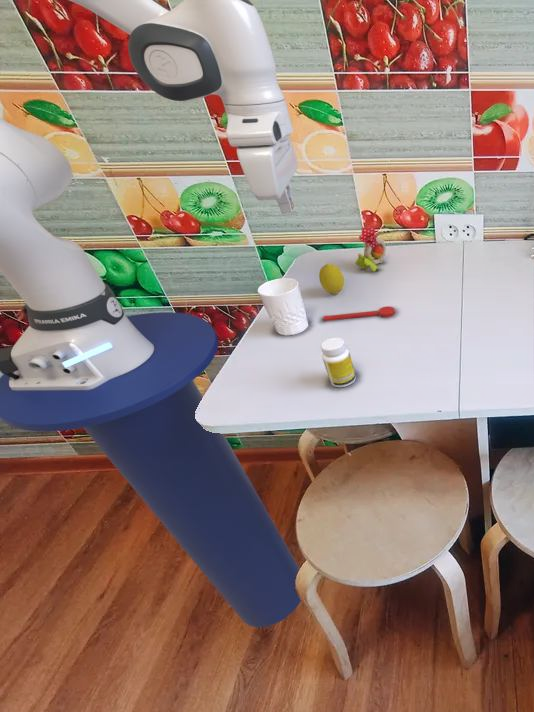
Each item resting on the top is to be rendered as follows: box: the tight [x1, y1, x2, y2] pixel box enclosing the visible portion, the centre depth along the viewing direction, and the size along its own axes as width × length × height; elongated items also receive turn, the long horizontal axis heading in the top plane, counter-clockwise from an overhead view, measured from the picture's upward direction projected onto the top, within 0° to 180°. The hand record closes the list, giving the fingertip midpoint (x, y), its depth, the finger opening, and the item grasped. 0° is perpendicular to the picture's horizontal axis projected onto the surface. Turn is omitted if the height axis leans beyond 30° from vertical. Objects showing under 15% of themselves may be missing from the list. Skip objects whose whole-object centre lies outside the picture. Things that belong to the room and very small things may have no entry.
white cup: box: [257, 277, 309, 336], centre depth 100 cm, size 8×8×10 cm
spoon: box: [322, 305, 396, 322], centre depth 106 cm, size 16×4×1 cm, turn 101°
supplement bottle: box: [320, 337, 357, 388], centre depth 85 cm, size 5×5×8 cm
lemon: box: [318, 263, 345, 295], centre depth 112 cm, size 6×6×8 cm
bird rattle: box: [354, 227, 387, 272], centre depth 124 cm, size 6×11×9 cm
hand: (288, 210), depth 82 cm, fingers closed
